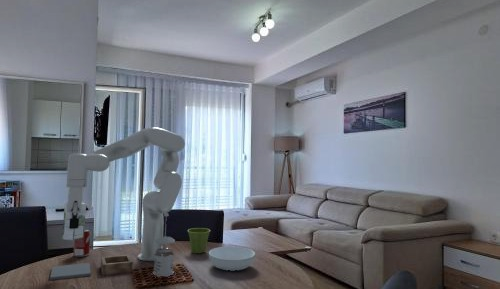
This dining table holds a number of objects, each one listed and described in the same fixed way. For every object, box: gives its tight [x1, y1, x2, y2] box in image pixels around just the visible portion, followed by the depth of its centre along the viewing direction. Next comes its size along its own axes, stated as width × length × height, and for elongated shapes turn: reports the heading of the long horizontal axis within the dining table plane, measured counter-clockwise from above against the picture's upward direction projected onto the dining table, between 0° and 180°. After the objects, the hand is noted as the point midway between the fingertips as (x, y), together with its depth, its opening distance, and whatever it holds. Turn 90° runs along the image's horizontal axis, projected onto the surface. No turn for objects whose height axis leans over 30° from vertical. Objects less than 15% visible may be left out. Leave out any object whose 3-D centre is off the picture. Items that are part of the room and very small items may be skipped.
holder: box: [100, 254, 134, 276], centre depth 142 cm, size 11×11×4 cm
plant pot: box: [187, 227, 211, 254], centre depth 173 cm, size 12×12×11 cm
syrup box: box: [61, 202, 87, 241], centre depth 137 cm, size 6×6×14 cm
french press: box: [152, 212, 176, 276], centre depth 140 cm, size 10×12×25 cm
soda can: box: [73, 228, 92, 258], centre depth 159 cm, size 7×7×12 cm
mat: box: [49, 262, 92, 281], centre depth 136 cm, size 14×14×1 cm
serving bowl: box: [208, 246, 256, 272], centre depth 150 cm, size 21×21×7 cm
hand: (73, 226), depth 137 cm, fingers closed on syrup box, 7 cm apart
